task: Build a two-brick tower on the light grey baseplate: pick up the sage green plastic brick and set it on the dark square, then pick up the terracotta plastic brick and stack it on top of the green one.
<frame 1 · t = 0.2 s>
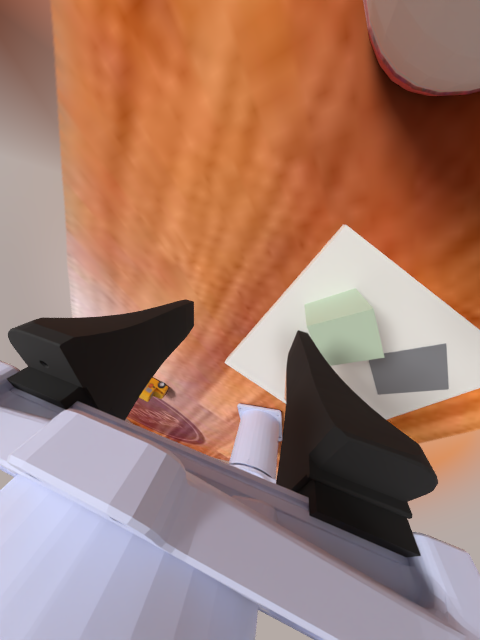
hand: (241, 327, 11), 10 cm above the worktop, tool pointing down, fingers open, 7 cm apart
toy bus: (150, 376, 37), on the worktop
green brick: (334, 316, 18), point 1 cm above the worktop, touching baseplate
baseplate: (337, 360, 22), on the worktop
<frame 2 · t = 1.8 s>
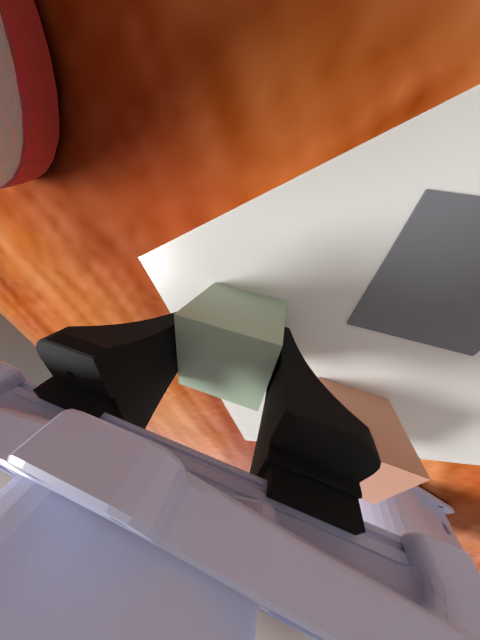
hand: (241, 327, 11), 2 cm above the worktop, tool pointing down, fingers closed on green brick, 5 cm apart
green brick: (243, 322, 12), point 1 cm above the worktop, touching baseplate, gripper
baseplate: (334, 353, 12), on the worktop
terracotta brick: (337, 405, 14), point 1 cm above the worktop, touching baseplate
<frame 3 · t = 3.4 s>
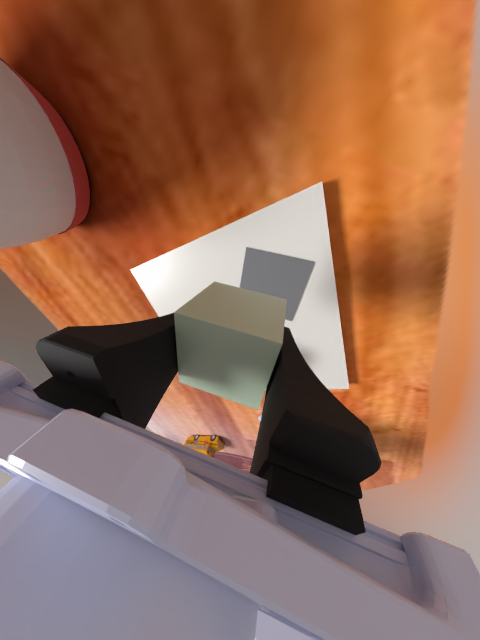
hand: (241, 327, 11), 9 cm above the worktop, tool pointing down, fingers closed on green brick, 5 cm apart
toy bus: (207, 436, 42), on the worktop
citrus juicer: (45, 155, 18), on the worktop
green brick: (243, 321, 12), point 8 cm above the worktop, touching gripper
baseplate: (241, 325, 22), on the worktop
when the fingers open (3 cm above the worktop, at t = 5.1 s): green brick drops 1 cm, resting on baseplate.
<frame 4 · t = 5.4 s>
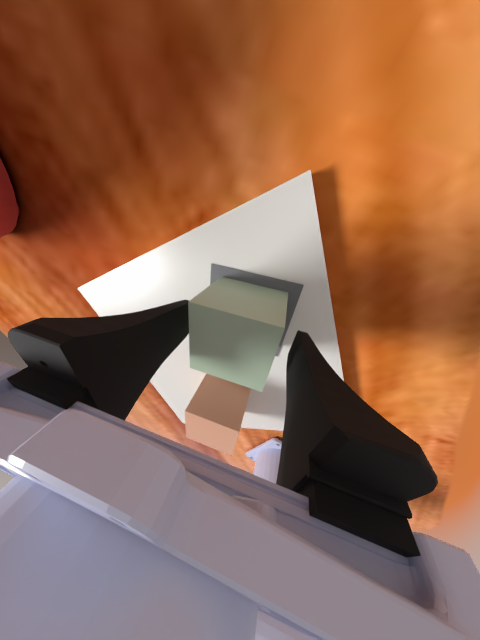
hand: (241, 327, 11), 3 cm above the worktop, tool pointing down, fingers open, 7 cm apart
green brick: (247, 313, 13), point 1 cm above the worktop, touching baseplate
baseplate: (217, 354, 18), on the worktop
terracotta brick: (226, 392, 19), point 1 cm above the worktop, touching baseplate
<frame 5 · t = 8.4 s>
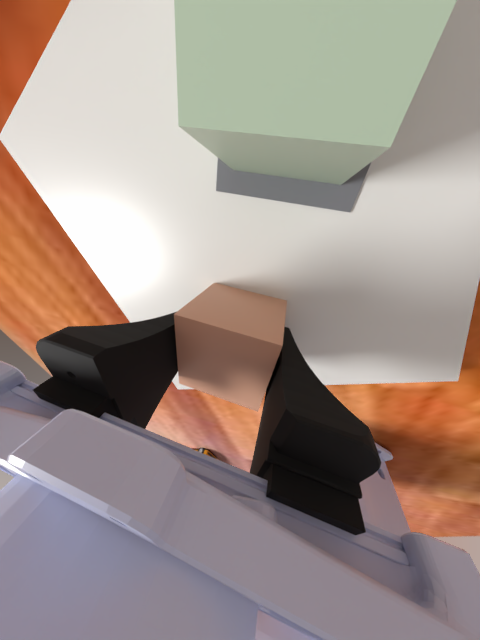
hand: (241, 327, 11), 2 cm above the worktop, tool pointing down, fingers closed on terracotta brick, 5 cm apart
green brick: (303, 93, 6), point 1 cm above the worktop, touching baseplate
baseplate: (230, 254, 11), on the worktop
terracotta brick: (243, 322, 12), point 1 cm above the worktop, touching baseplate, gripper
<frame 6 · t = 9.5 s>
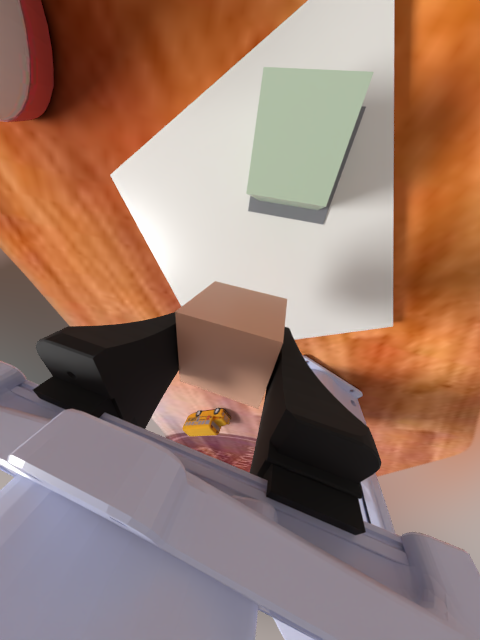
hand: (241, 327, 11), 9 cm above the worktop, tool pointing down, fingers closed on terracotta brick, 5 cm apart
toy bus: (210, 412, 36), on the worktop
green brick: (297, 166, 13), point 1 cm above the worktop, touching baseplate
baseplate: (252, 248, 17), on the worktop
terracotta brick: (244, 320, 12), point 8 cm above the worktop, touching gripper
when the fingers open (7 cm above the worktop, at t = 11.1 s): terracotta brick stays where it is, resting on green brick.
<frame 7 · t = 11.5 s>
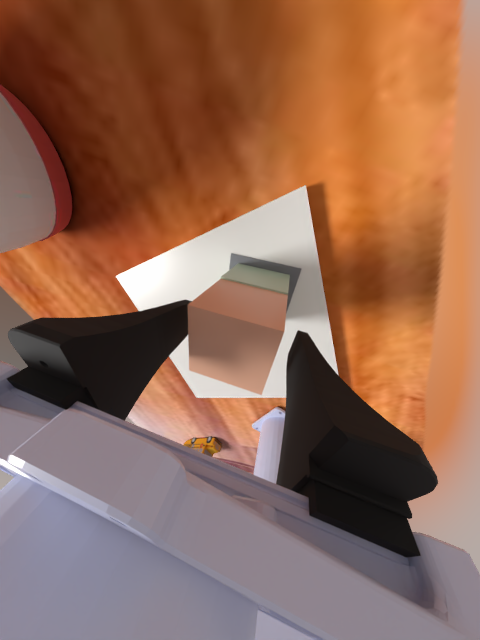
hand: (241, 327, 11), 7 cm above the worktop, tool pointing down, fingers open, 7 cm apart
toy bus: (204, 439, 40), on the worktop
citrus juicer: (25, 160, 18), on the worktop
green brick: (258, 293, 17), point 1 cm above the worktop, touching baseplate, terracotta brick
baseplate: (230, 331, 21), on the worktop
terracotta brick: (247, 315, 13), point 6 cm above the worktop, touching green brick
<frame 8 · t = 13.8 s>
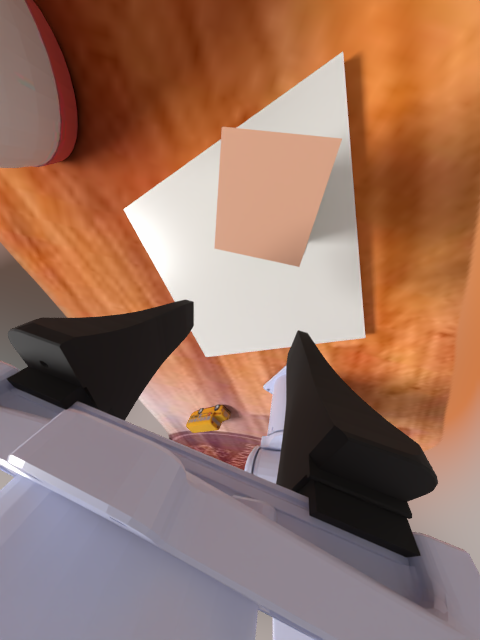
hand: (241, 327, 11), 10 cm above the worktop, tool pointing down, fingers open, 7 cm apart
toy bus: (212, 409, 38), on the worktop
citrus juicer: (27, 72, 17), on the worktop
baseplate: (245, 270, 20), on the worktop
terracotta brick: (274, 209, 12), point 6 cm above the worktop, touching green brick
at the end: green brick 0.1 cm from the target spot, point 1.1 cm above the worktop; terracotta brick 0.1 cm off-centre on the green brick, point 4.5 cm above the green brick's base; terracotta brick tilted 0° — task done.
